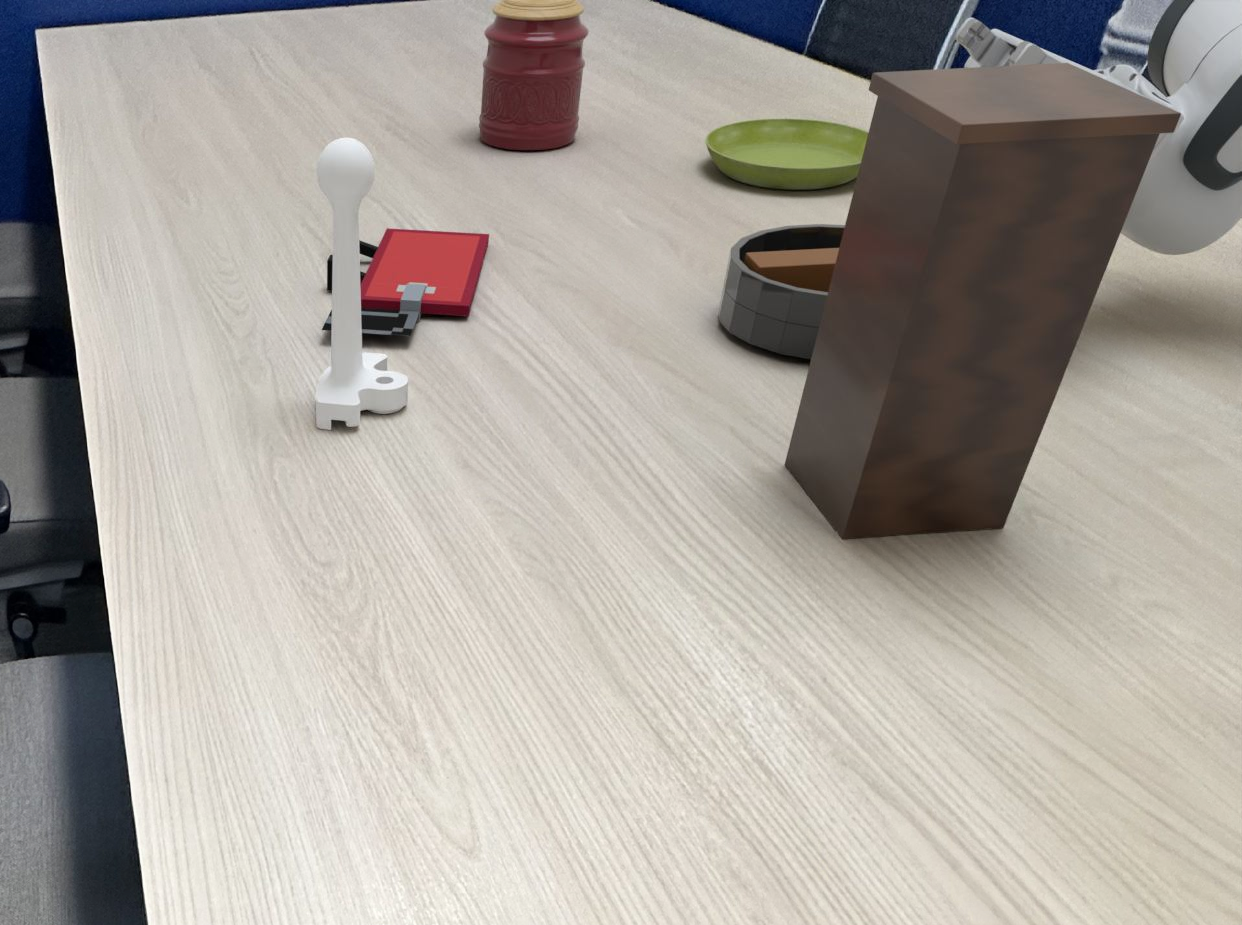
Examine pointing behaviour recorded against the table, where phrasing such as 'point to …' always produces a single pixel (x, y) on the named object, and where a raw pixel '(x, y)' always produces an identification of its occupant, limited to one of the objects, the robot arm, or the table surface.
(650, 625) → the table surface
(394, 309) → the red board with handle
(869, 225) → the stand
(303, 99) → the table surface
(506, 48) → the kitchen canister
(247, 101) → the table surface
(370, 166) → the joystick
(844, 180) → the saucer
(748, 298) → the bowl
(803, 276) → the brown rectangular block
